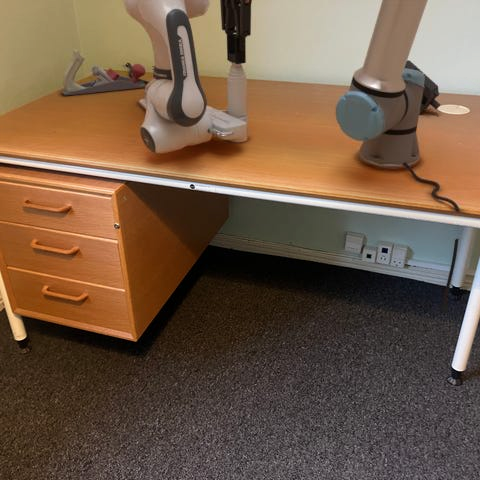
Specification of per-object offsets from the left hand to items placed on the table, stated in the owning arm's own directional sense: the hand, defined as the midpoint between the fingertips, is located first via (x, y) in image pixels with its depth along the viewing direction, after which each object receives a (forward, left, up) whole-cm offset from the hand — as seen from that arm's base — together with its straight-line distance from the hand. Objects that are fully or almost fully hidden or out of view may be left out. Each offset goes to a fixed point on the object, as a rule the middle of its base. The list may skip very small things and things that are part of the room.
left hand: (240, 115), depth 150 cm
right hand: (0, -1, +15) cm, 15 cm away
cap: (0, -1, +17) cm, 17 cm away
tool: (+14, +57, -7) cm, 59 cm away
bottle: (0, -1, -7) cm, 7 cm away
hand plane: (-72, -10, -7) cm, 73 cm away
